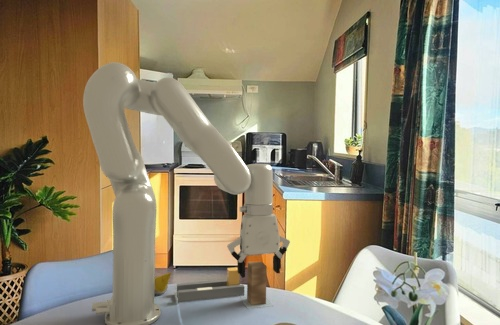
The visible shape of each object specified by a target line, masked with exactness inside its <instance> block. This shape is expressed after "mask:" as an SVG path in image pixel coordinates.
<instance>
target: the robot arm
mask: <svg viewBox="0 0 500 325" xmlns="http://www.w3.org/2000/svg"><path fill="white" fill-rule="evenodd" d="M82 99H83V100H82V104H83V112H84V115H85V119H86V123H87V127H88V129H89V130H88V131H89V133H90V136H91V141H92V142H93V146H94V149H95V152H96V155H97V158H98V162H99V165H100V169H101V171H102V174H104V176H105V177H107V179H109V181H110V185H111V188H112V191H113V193H114V197H115V198H114V201H113V206H112V231H113V232H112V233H113V235H112V236H113V237H112V240H113V241H112V247H113V248H112V256H113V259H112V295H111V299H107V300H106V301H104V302H103V301H96V302H92V304H91V312H95V315H102V314H105V315H104V323H105V324H106V325H151V324H153V323H155V322H156V321H157V320H159V318H160V317H161V312H162V311H161V307H160V306H159V305H158V304H156V303H155V294H154V291H155V276H156V275H155V273H156V226H157V223H156V222H157V200H156V194H155V192H154V189H153V186H152V184H151V180H150V177H149V174H148V172H147V169H146V166H145V165H146V164H145V162H144V160H143V159H144V158H143V156H142V154H141V152H140V151H139V150H138V148H137V146H136V145H135V141H134V139H133V136H132V134H131V130H130V127H129V122H128V119H127V116H126V114H125V109H127V110H131V111H137V112H141V113H145V114H150V115H151V114H152V115H156V116H162V117H163V118H164V119H165V121H166V122H167V124H169V126H170V127H171V129H172V130H173V131H174V132H175V134H176V135H177V137H178V138H179V139H180V141H181V142H182V143H183V144H184V146H185V147H187V149H189V150H190V151H192V152H193V153H194V154H195V155H197V156H198V157H199V158H200V159H201V160H202V162H204V164H205V165H207V167H208V169H210V171H211V172H212V173H213V180H214V184H215V185H216V187H218V189H220V190H222V191H223V192H226V193H229V194H231V195H242V194H243V193H244V203H243V205H242V206H239V212H240V213H244V214H242V218H241V224H240V232H239V237H238V238H237V239H235V240H233V241H232V242H230V243H228V244H227V246H226V247H227V250H228V251H229V253H230V254H231V256H232V257H233V258H234V259H235V260H236V261H237V262H236V263H237V268H238V273H239V276H240V277H241V278H245V277H246V263H245V261H244V260H245V259H246V258H247V256H261V255H270V254H274V255H273V256H272V270H273V272H275V273H276V274H280V273H281V272H280V270H281V269H282V258H283V257H284V254H285V253H286V252H287V251H288V248H289V245H290V244H291V241H290V240H289V239H288V238H286V237H283V236H281V235H280V230H279V224H278V218H277V215H276V214H274V192H273V191H274V189H273V187H274V186H273V185H274V182H273V179H274V178H273V177H274V176H273V175H274V174H273V172H274V171H273V167H272V166H271V164H267V163H251V164H246V163H245V162H244V161H243V159H242V158H241V157H240V155H239V153H237V150H235V148H234V147H233V146H232V145H231V144H230V142H229V141H228V140H227V139H226V138H225V137H224V136H223V135H222V134H221V133H220V132H219V131H218V129H217V128H216V127H215V126H214V125H213V124H212V123H211V121H210V120H209V119H208V117H207V116H206V114H204V112H203V111H202V110H201V108H200V107H199V106H198V104H197V103H196V101H195V99H193V97H192V95H191V94H190V93H189V91H188V90H187V89H186V88H185V87H184V85H183V83H181V82H180V81H178V80H177V79H176V78H173V77H162V78H161V79H159V80H158V81H156V82H154V81H153V82H151V81H147V80H144V79H140V78H138V77H137V76H136V74H135V72H134V71H133V70H132V69H131V68H130V67H129V66H128V65H126V64H124V63H121V62H116V61H114V62H112V61H111V62H108V63H106V64H104V65H102V66H100V67H99V68H98V69H96V70H95V71H94V72H93V73H92V75H90V77H89V78H88V80H87V82H86V84H85V87H84V90H83V96H82ZM281 243H282V244H281ZM238 246H239V249H240V250H239V252H237V251H236V250H235V248H236V247H238ZM280 246H281V247H280Z"/></svg>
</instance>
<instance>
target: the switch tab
mask: <svg viewBox="0 0 500 325" xmlns="http://www.w3.org/2000/svg"><path fill="white" fill-rule="evenodd" d="M226 279H227V286H231V285H239V280H240V274H239V273H238V266H235V267H227V269H226Z"/></svg>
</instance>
